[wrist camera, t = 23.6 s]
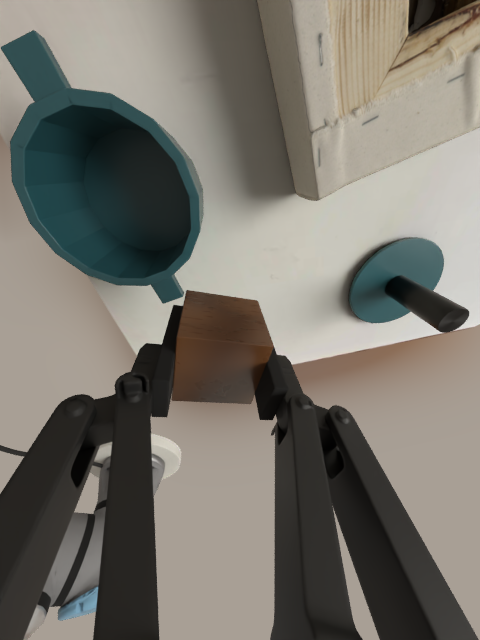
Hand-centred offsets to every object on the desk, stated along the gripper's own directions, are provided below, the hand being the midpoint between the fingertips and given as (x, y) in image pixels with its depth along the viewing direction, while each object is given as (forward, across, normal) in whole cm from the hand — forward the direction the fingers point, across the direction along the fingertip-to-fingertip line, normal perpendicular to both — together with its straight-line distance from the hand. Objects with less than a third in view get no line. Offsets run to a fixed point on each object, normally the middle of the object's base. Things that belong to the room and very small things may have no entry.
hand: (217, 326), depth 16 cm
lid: (+16, +29, +1) cm, 33 cm away
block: (0, 0, 0) cm, 0 cm away
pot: (+17, -9, +5) cm, 20 cm away
